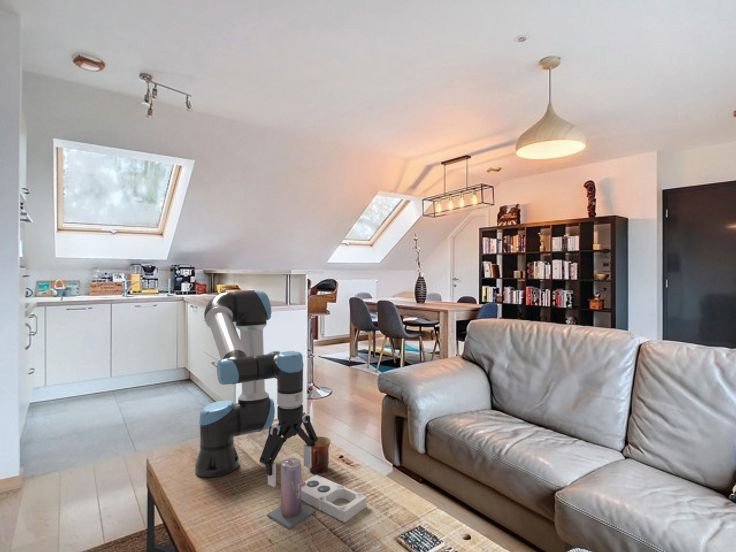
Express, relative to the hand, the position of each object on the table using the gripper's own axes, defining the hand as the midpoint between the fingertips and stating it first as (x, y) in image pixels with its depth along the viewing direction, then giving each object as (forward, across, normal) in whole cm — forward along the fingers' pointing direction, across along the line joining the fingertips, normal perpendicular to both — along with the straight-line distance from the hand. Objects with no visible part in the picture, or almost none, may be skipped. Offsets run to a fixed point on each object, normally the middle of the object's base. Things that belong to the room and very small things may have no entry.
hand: (290, 475), depth 121 cm
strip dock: (+11, +12, -1) cm, 16 cm away
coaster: (+11, 0, -1) cm, 11 cm away
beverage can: (+11, 0, -1) cm, 11 cm away
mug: (+12, +23, +12) cm, 29 cm away
